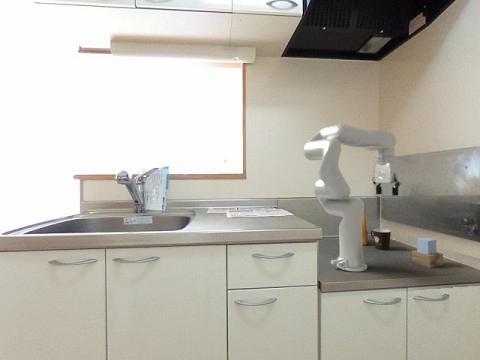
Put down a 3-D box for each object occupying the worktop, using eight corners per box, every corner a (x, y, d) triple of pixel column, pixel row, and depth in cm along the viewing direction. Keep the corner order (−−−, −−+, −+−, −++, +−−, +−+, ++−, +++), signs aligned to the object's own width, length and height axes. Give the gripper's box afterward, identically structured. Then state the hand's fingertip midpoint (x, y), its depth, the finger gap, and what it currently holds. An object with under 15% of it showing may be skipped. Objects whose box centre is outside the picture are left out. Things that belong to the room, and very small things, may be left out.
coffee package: (366, 246, 147) (365, 207, 147) (343, 244, 154) (342, 207, 154) (369, 242, 155) (368, 205, 155) (347, 240, 162) (346, 205, 162)
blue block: (428, 254, 114) (428, 241, 114) (417, 251, 119) (417, 238, 119) (436, 253, 116) (436, 239, 116) (425, 250, 121) (425, 237, 121)
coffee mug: (394, 251, 137) (393, 232, 137) (376, 250, 139) (375, 232, 139) (385, 245, 149) (385, 227, 149) (369, 245, 150) (369, 227, 150)
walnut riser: (429, 267, 112) (429, 256, 112) (412, 262, 120) (412, 251, 120) (443, 265, 115) (442, 253, 115) (425, 259, 123) (424, 249, 122)
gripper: (366, 161, 137) (367, 194, 138) (395, 159, 121) (396, 196, 121) (377, 161, 140) (378, 193, 140) (407, 159, 123) (408, 195, 124)
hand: (386, 194), depth 131 cm, fingers open, 9 cm apart
